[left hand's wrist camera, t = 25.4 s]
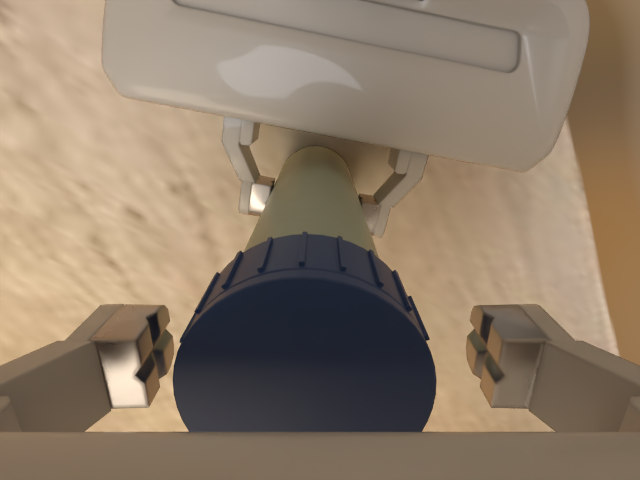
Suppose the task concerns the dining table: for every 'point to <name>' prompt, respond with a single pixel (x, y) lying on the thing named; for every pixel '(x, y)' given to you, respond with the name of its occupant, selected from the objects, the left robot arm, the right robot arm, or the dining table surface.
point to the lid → (305, 344)
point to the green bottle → (314, 201)
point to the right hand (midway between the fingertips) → (311, 222)
